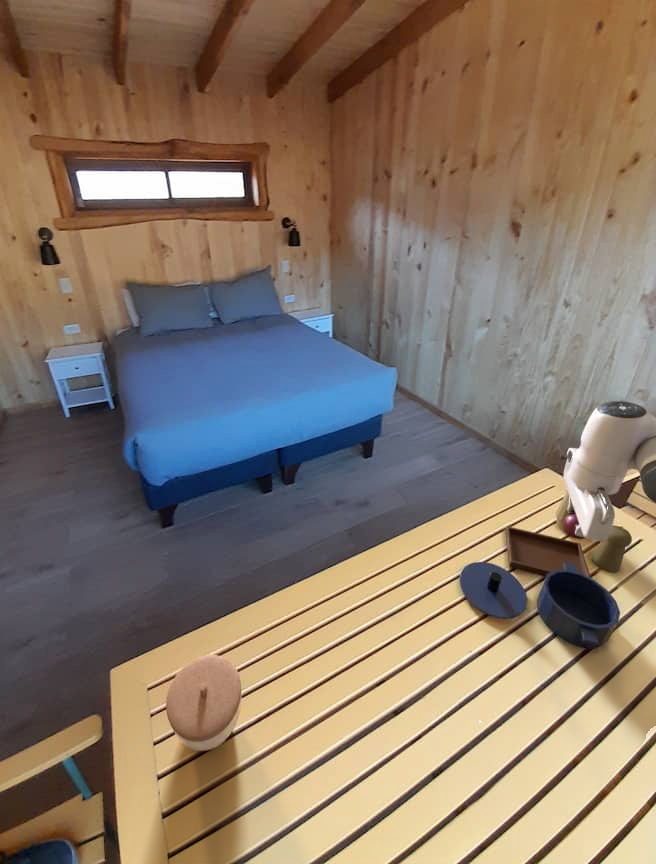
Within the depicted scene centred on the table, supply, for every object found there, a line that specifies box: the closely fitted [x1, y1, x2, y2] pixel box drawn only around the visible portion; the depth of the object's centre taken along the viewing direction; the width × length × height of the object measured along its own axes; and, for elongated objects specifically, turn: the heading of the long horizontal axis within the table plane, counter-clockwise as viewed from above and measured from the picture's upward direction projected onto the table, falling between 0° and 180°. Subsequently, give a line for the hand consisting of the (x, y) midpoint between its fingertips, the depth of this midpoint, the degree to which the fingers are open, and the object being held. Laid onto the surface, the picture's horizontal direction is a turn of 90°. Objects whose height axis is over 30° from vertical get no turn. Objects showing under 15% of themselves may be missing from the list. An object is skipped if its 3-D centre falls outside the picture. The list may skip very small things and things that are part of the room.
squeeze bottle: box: [555, 489, 569, 534], centre depth 107 cm, size 8×8×18 cm
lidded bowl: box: [165, 654, 242, 752], centre depth 70 cm, size 13×13×11 cm
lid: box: [459, 561, 528, 620], centre depth 93 cm, size 14×14×5 cm
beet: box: [563, 514, 586, 540], centre depth 88 cm, size 5×5×6 cm
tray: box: [504, 525, 592, 578], centre depth 101 cm, size 17×12×2 cm
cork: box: [590, 525, 633, 574], centre depth 98 cm, size 6×6×11 cm
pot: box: [536, 562, 621, 650], centre depth 87 cm, size 13×19×7 cm
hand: (575, 523), depth 88 cm, fingers closed on beet, 5 cm apart
